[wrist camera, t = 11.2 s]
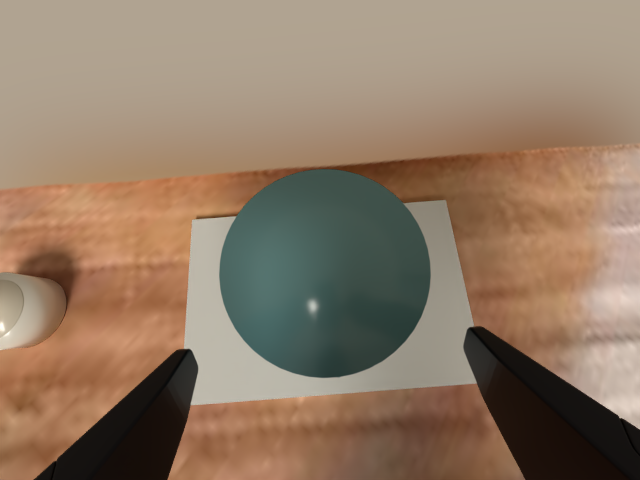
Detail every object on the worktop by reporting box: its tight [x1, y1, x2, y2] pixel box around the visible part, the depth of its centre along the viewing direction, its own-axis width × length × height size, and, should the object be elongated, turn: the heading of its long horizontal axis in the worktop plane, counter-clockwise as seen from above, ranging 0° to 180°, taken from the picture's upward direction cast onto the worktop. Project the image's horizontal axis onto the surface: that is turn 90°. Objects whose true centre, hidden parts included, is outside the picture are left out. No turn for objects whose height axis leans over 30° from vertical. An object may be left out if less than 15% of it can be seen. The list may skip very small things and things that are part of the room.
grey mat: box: [184, 200, 477, 405], centre depth 20 cm, size 20×13×1 cm, turn 94°
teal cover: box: [219, 169, 431, 378], centre depth 14 cm, size 7×7×11 cm
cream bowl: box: [0, 272, 66, 350], centre depth 19 cm, size 5×5×3 cm
